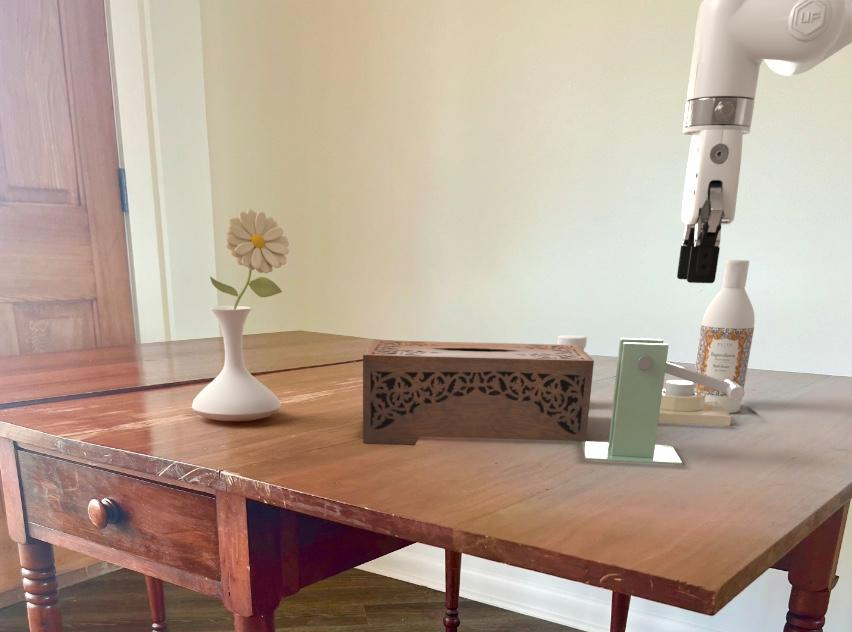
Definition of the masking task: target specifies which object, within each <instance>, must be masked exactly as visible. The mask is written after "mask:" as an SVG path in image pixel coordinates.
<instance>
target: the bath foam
mask: <svg viewBox="0 0 852 632" xmlns="http://www.w3.org/2000/svg"><path fill="white" fill-rule="evenodd" d="M749 266H750V261H749V260H747V259H727V260H726V261H725V266H724V273H723V279H722V287H721V289H720V290H719V291H718V293H717V294H716V295H715V297H713V299H712V300H711V302H710V303H709V305H708V306H707V308H706V310H705V312H704V314H703V317H702V320H701V324H700V329H699V338H698V343H697V350H696V358H695V363H694V370H693V371H695V372H698V373H701V374H704V375H707V376H710V377H713V378H716V379H719V380H722V381H724V380H727V379H731V380H733V381H734V382H735V383H737V384H738V385H739V386H740V387H742V388H743V389H744V390H745V385H746V377H747V372H748V366H749V361H750V354H751V349H752V343H753V339H754V338H753V337H754V331H755V321H756V320H755V311H754V307H753V304H752V302H751V299H750V297H749V295H748V293H747V291H746V284H747V280H748V273H749ZM694 391H698V392H702V393H704V394H705V395H706V396H705V401H707V402H718V403H719V404H720V405H721V406H722V407H723V408H724V409H725V410H726V411H727V412H728V413H729V414H730V415H732V414H736V413H739V411H740V410H741V406H742V401H743V398H742V399H741V400H738V401H734V400H732V399H731V398H730V397H729V396H728V395H727V394H725V393H723V392H720V391H717V390H715V389H712V388H709V387H706V386H703V385H700V384H697V383H695V386H694Z"/></svg>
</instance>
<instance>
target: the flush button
mask: <svg viewBox="0 0 852 632" xmlns="http://www.w3.org/2000/svg"><path fill="white" fill-rule="evenodd" d="M694 386H695V383H694V382H691V381H688V380H684V379H682V380H681V379H669V380H666V381H665V386H664V389H665V394H669V395H678V396H691V395H693V393H694Z"/></svg>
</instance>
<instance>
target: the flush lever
mask: <svg viewBox="0 0 852 632" xmlns="http://www.w3.org/2000/svg"><path fill="white" fill-rule="evenodd" d="M665 374H667V375H670V376H674V377H676V378H678V379H682V380H684V381H690V382H694V383H697V384H700V385H703V386H706V387H709V388H712V389H715V390H717V391H720V392H723V393H725V394H727V395H728V396H729V397H730V398H731V399H732V400H734V401H738V400H741V399H742V400H743V398H744V396H745V393H746V392H745V388H744V389H743V388H742V387H740V386H739V385H738V384H737V383H735V382H734V381H733V380H731V379H727V380H724V381H722V380H719V379H716V378H713V377H710V376H707V375H704V374H701V373H698V372H695V371H694V370H693V369H689V368H686V367H684V366H680V365H677V364H675V363H671V362H669V361H666V369H665Z"/></svg>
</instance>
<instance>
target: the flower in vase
mask: <svg viewBox="0 0 852 632" xmlns="http://www.w3.org/2000/svg"><path fill="white" fill-rule="evenodd" d="M227 228H228V230H227V231H226V232H225V234H226V237H225V240H226V242H225V246H226V248H227V249H228V250H230V254H231V256H232V257H234V258H236V264H238V265H239V266H243V267H246V268H248V275H247V279H246V282H245V284H244V286H243V288H242V290H241V292H240V293H238V291H237V289H236V288H235V287H233V286H231V285H228V284H225V283H222V282H220V281H219V280H217V279H215V278H214V277H212V276H211V275H210V276H209V279H210V281H211V283H212V285H213V287H214V288H215V289H217V290H218V291H220V292H222V293H225V294H228V295H230V296H233V297H237V298H236V300H235V303H234V304H233V305H218V306H211V307H210V310H211V311H212V312H213V314H214V315H215V317H216V318H217V321H218V323H219V326H220V330H221V333H222V338H223V347H224V362H223V363H224V365H223V367H222V370H221V371H220V372H219V373H218V375H217V376H216V377H215V378H214V379H213V380H212V381H210V383H208V384H207V385H206V386H205V387H204V388H203V389H201V391H200V392H199V393H198V394H197V395H196V397H195V398H194V399H193V400H192V405H191V409H192V410H193V411H194V413H195V414H197V416H201V417H203V418H206V419H208V420H215V421H222V422H250V421H255V420H261V419H266V418H269V417H270V416H272V415H274V414H277V413H278V412H279V410H280V409H281V407H282V404H281V401H280V399H279V398H278V397H277V396H276V394H275V393H274V392H273V391H272V390H270V389H269V388H268V387H267V386H266V385H265V384H264V383H262V382H261V381H259V379H257V378H256V377H255V376H254V375H252V374H251V373H250V371H249V370H248V369H247V367H246V363H245V361H244V355H243V353H244V352H243V338H244V337H243V336H244V330H245V329H244V328H245V325H246V324H245V323H246V320H247V318H248V317H249V314H250V312H251V311H252V307H251V306H245V305H239V303H240V301H241V299H242V297H243V295H244V294H245V292H246V290H247V288H248V286H249V288H250V290H251V291H253V293H254V294H255V295H257V296H258V297H259V298H269V297H272V296H276V295H278V294H281V293H283V291H282V289H281V288H280V286H278V284H276V282H274V281H273V280H271V279H270V278H268V277H266V276H258V277H256V278H253V279H252V280H251V277H252V271H255V270H256V271H257V272H258V273H260V274H263V273H264V274H268V273H272V272H273V268H274V269H279V268H281V267H282V266H284V265H286V263H287V256H286V255H288V254H289V252H290V249H289V248H288V247H289V245H290V242H289V241H288V238H287V236H285V235H284V229H283V228H282V227H279V226H278V222H277V221H276V220H275V219H274V217H272V216H266V213H265V212H264V211H262V210H261V211H258V212H256V211H254V209H252V208H249V209H247V210H246V212H245V211H244V210H241V211H240V212H239V213H238V216H233V217H229V219H228V224H227Z"/></svg>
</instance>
